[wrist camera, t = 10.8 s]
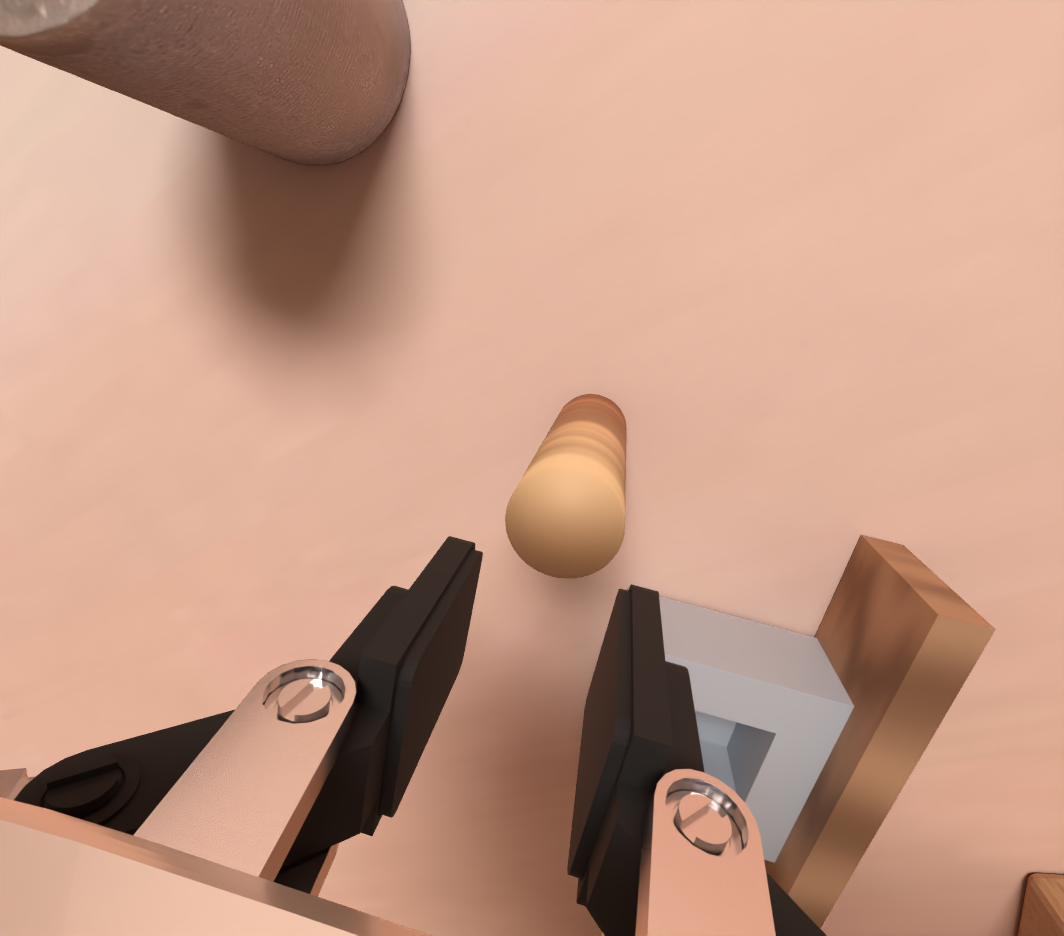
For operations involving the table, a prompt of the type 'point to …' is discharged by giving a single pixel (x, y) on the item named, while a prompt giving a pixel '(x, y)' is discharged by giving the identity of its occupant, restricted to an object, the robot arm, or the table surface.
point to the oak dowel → (573, 492)
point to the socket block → (758, 709)
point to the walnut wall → (877, 709)
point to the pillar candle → (235, 63)
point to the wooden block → (1043, 906)
